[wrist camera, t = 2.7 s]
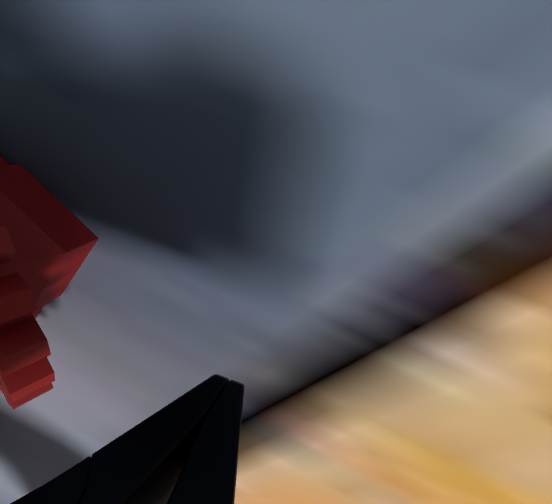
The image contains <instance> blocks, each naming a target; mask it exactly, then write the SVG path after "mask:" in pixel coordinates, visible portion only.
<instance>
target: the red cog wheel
mask: <svg viewBox="0 0 552 504" xmlns="http://www.w3.org/2000/svg"><path fill="white" fill-rule="evenodd" d="M97 240H98V237H97V236H96V235H95V234H94V233H93V232H91V231H90V230H89V229H88V228H87V227H86V226H85V225H84V224H83V223H82V222H81V221H80V220H79V219H78V218H77V217H76V216H75V215H73V214H72V213H71V212H70V211H69V210H68V209H67V208H66V207H65V206H64V205H63V204H62V203H61V202H60V201H59V200H58V199H57V198H56V197H54V196H53V195H52V194H51V193H50V192H49V191H48V190H47V189H46V188H45V187H44V186H43V185H42V184H41V183H40V182H39V181H38V180H36V179H35V178H34V177H33V176H32V175H31V174H30V173H29V172H28V171H27V170H26V169H25V168H24V167H23V166H22V165H21V164H20V163H19V164H12V165H9V164H8V163H7V162H6V161H5V160H4V159H3V158H2V157H1V156H0V390H1V392H2V393H4V396H5V398H6V400H7V402H8V404H9V405H10V406H12V408H13V409H15V408H17V407H19V406H20V405H22V404H24V403H26V402H28V401H30V400H32V399H34V398H36V397H38V396H39V395H41V394H43V393H45V392H47V391H49V390H51V389H52V388H53V386H52V383H51V382H53V381H55V376H54V371H53V369H52V367H51V365H50V363H49V361H48V359H47V356H49V355H51V353H50V349H49V345H48V341H47V338H46V337H45V335H44V333H43V332H42V330H41V328H40V326H39V325H38V323H37V321H36V320H35V319H36V317H37V315H38V314H39V312H40V311H41V309H42V307H43V306H44V305H45V304H47V303H48V302H50V301H52V300H54V299H55V298H57V297H59V296H61V295H62V293H63V292H64V290H65V288H66V287H67V285H68V284H69V282H70V281H71V279H72V278H73V276H74V275H75V273H76V272H77V270H78V269H79V267H80V266H81V264H82V263H83V261H84V260H85V258H86V256H87V255H88V253H89V252H90V250H91V249H92V247H93V246H94V244H95V243H96V241H97Z"/></svg>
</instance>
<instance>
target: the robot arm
mask: <svg viewBox="0 0 552 504" xmlns="http://www.w3.org/2000/svg"><path fill="white" fill-rule="evenodd" d="M243 395H244V385H243V384H242V383H239V382H236V381H234V380H230V381H229V379H228V378H226V377H223V376H220V375H217V374H215V375H213V376H211V377H210V378H208V379H207V380H205V381H204V382H202V383H201V384H199V385H197V386H196V387H194V388H193V389H191V390H190V391H188V392H187V393H185V394H184V395H182V396H181V397H179V398H178V399H176V400H175V401H173V402H171V403H170V404H168V405H167V406H165V407H164V408H162V409H161V410H159V411H158V412H156V413H155V414H153V415H152V416H150V417H149V418H147V419H145V420H144V421H142V422H141V423H139V424H138V425H136V426H135V427H133V428H132V429H130V430H129V431H127V432H126V433H124V434H123V435H121V436H119V437H118V438H116V439H115V440H113V441H112V442H110V443H109V444H107V445H106V446H104V447H103V448H101V449H100V450H98V451H97V452H95V453H93V454H92V458H91V457H90V456H89V457H87V458H85V459H84V460H82V461H81V462H79V463H78V464H76V465H75V466H73V467H72V468H70V469H69V470H67V471H65V472H64V473H62V474H61V475H59V476H57V477H56V478H54V479H52V480H51V481H49V482H48V483H46V484H44V485H43V486H41V487H39V488H37V489H35V490H34V491H32V492H30V493H28V494H27V495H25V496H23V497H21V498H20V499H18V500H16V501H14V502H12V503H11V504H234V498H235V487H236V475H237V464H238V452H239V441H240V430H241V418H242V407H243Z"/></svg>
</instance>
